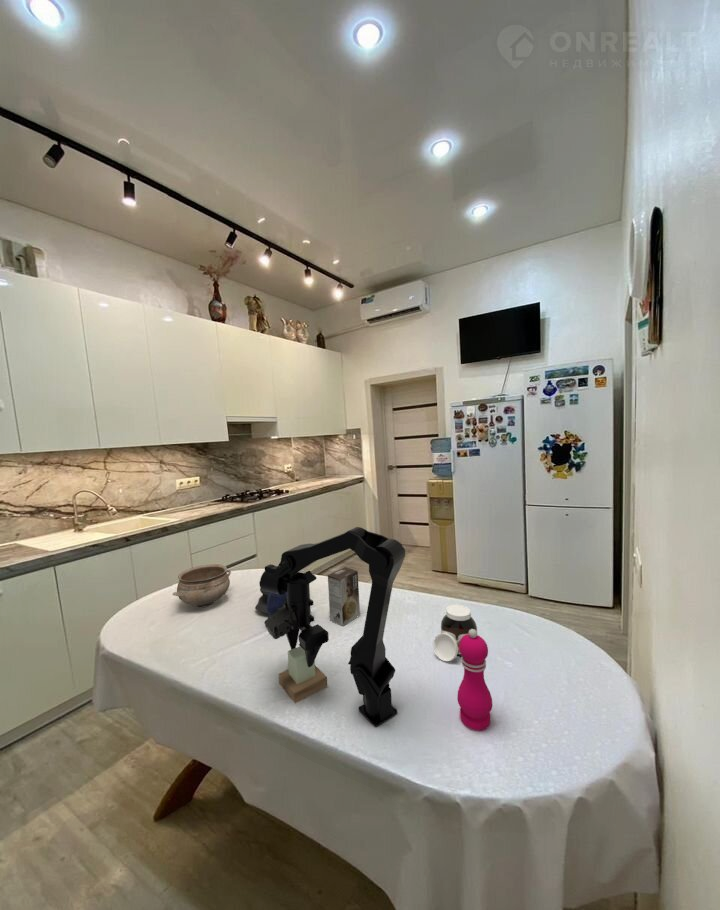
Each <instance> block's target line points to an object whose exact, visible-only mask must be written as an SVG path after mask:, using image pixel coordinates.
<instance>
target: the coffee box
mask: <svg viewBox="0 0 720 910" xmlns="http://www.w3.org/2000/svg"><path fill="white" fill-rule="evenodd" d="M358 571H359V570H355V569H353V568H350V567H342V568H340V569H337V570H336V571H334V572H332V573H330V574H328V575H327V584H328V585H327V588H328V589H327V590H328V601H329V602H328V607H329V621H330V622H331V621H332V623H334V624H336V623H337V625H339V626H342V627H344V626H346V625H347V624H349V623H351V622H352V621H354V620H355V619H356V618H358V617H360V616H361V610H360V591H359V590H360V589H359V573H358ZM357 616H358V617H357Z"/></svg>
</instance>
